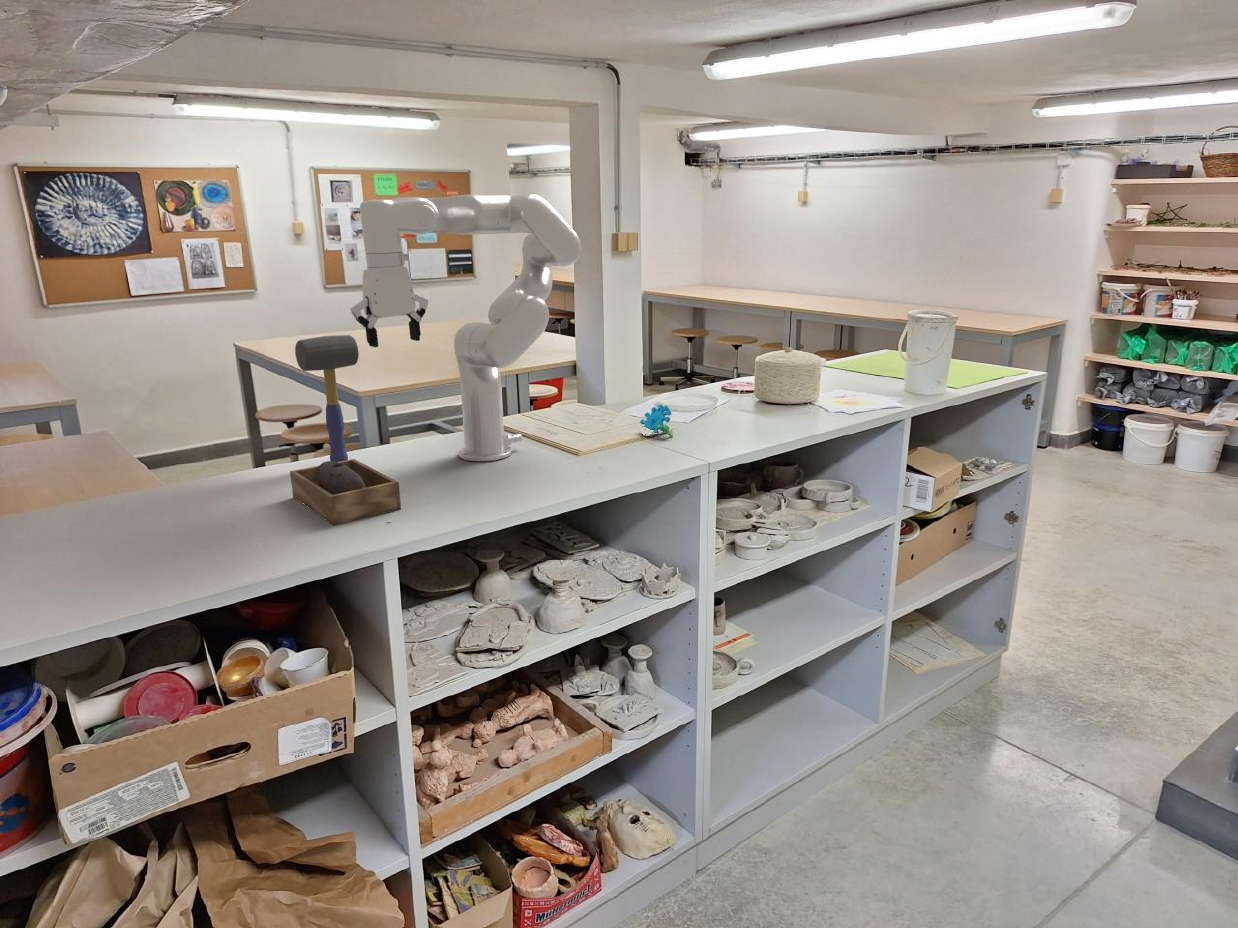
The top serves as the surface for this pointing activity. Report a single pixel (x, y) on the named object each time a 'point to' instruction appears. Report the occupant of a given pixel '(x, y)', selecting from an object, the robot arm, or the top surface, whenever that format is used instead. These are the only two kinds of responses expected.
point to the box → (347, 494)
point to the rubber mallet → (329, 379)
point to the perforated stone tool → (338, 478)
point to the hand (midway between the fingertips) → (395, 343)
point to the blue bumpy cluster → (658, 419)
